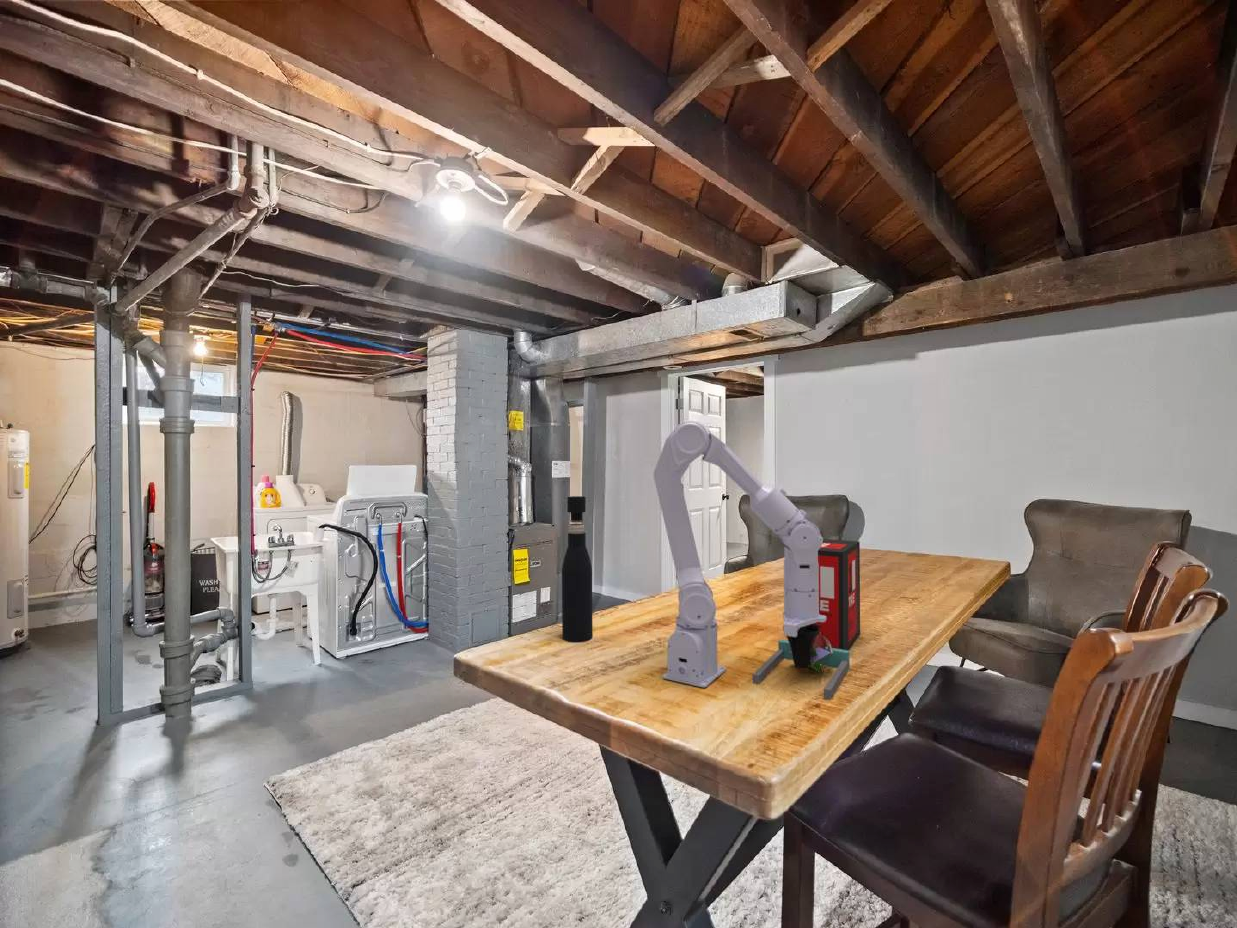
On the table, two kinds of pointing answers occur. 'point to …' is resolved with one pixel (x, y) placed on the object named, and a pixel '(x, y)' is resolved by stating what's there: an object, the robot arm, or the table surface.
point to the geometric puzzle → (818, 653)
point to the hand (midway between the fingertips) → (801, 667)
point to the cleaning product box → (839, 592)
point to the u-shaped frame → (836, 660)
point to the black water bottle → (576, 579)
